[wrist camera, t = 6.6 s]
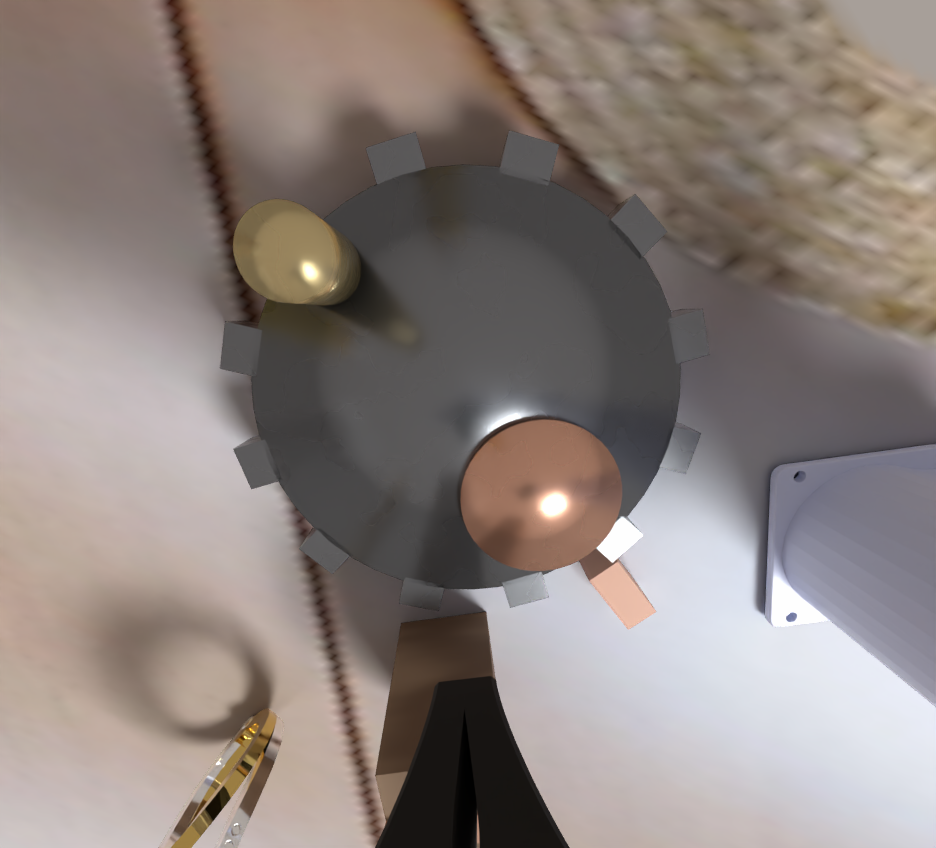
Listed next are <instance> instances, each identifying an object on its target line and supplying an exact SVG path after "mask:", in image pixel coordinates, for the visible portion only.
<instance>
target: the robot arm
mask: <svg viewBox="0 0 936 848" xmlns="http://www.w3.org/2000/svg"><path fill="white" fill-rule="evenodd" d="M798 471H799V474H798V476H797V477H796V478H794V475H795V474H796V473H797V472H798ZM789 613H790V614H789ZM788 614H789V615H788ZM787 615H788V616H787ZM765 618H766V620H767V621H768V622H769V623H770V624H771V625H772V626H774V627H785V626H792V625H799V624H807V623H814V622H822V621H829V620H830V621H831V622H832V623H833V624H835V625H836V626H837V627H838V628H840V629H841V630H842V631H843V632H844V633H846V634H847V635H848V636H849V637H851V638H852V639H853V640H854V641H855V642H857V643H858V644H859V645H860V646H862V647H863V648H864V649H865V650H867V651H868V652H869V653H870V654H871V655H873V656H874V657H875V658H876V659H878V660H879V661H880V662H881V663H882V664H884V665H885V666H886V667H887V668H889V669H890V670H891V671H892V672H894V673H895V674H896V675H897V676H898V677H900V678H901V679H902V680H903V681H905V682H906V683H907V684H908V685H909V686H911V687H912V688H913V689H914V690H916V691H917V692H918V693H919V694H921V695H922V696H923V697H924V698H925V699H927V700H928V701H929V702H930V703H932V704H933V705H934V706H935V707H936V444H930V445H923V446H916V447H908V448H901V449H893V450H886V451H879V452H871V453H864V454H857V455H849V456H842V457H834V458H827V459H820V460H812V461H805V462H798V463H790V464H783V465H780V466H778V467H776V468H775V469H774V470H773V472H772V474H771V483H770V507H769V531H768V555H767V579H766V603H765ZM477 811H478V823H479V841H480V848H569V846H568V844H567V843H566V841H565V839H564V837H563V836H562V834H561V832H560V830H559V829H558V827H557V825H556V823H555V821H554V819H553V818H552V816H551V814H550V812H549V810H548V808H547V806H546V804H545V802H544V800H543V798H542V797H541V795H540V793H539V791H538V789H537V787H536V785H535V783H534V781H533V779H532V777H531V774H530V772H529V770H528V768H527V766H526V764H525V761H524V759H523V757H522V755H521V752H520V750H519V748H518V746H517V744H516V741H515V739H514V736H513V734H512V731H511V729H510V726H509V723H508V721H507V718H506V715H505V713H504V710H503V707H502V703H501V700H500V697H499V693H498V689H497V683H496V679H494V678H493V677H492V676H485V677H477V678H468V679H459V680H451V681H442V682H438V683H437V684H436V686H435V687H434V692H433V696H432V700H431V704H430V708H429V712H428V715H427V718H426V722H425V725H424V728H423V731H422V734H421V737H420V740H419V743H418V746H417V748H416V751H415V754H414V757H413V759H412V762H411V765H410V767H409V770H408V773H407V776H406V778H405V781H404V783H403V786H402V788H401V790H400V793H399V795H398V797H397V800H396V802H395V804H394V807H393V809H392V811H391V814H390V816H389V818H388V821H387V823H386V825H385V828H384V830H383V832H382V834H381V836H380V838H379V841H378V843H377V845H376V847H375V848H477Z"/></svg>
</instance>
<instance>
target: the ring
mask: <svg viewBox="0 0 936 848" xmlns="http://www.w3.org/2000/svg"><path fill="white" fill-rule="evenodd" d="M283 733H284V722H283V720H282V719H281V718H280V717H278V716H277V715H276V713H274V712H273V711H271V710H270V709H268V708H266V709H264V710H262V711H261V712H259V713H258V714H257V715H255V716H254V717H253V716H250V717H249V718H248V719H247V720H246V721H245V722H244V724H243V725H242V727H241V729H240V730H239V732H238V733H237V734H236V735H235V736H234V737H233V738H232V740H231V741H230V742H229V743H228V744H227V746H226V747H225V748H224V749H223V751H222V752H221V753H220V755H219V756H218V757H217V759H216V760H215V761H214V763H213V764H212V765H211V767H210V768H209V769H208V771H207V772H206V774H205V775H204V776H203V778H202V779H201V781H200V782H199V784H198V785H197V787H196V788H195V790H194V791H193V793H192V794H191V796H190V797H189V799H188V800H187V802H186V803H185V805H184V806H183V808H182V809H181V811H180V813H179V814H178V816H177V817H176V819H175V821H174V822H173V824H172V825H171V827H170V829H169V830H168V832H167V834H166V835H165V837H164V839H163V841H162V842H161V844H160V846H159V847H158V848H191V847H192V846H193V845H194V844H195V843H196V841H197V840H198V839H199V838H200V837H201V835H202V834H203V833H204V832H205V830H206V829H207V828H208V827H209V825H210V824H211V823H212V822H213V820H214V819H215V818H216V817H217V815H218V814H219V813H220V812H221V810H222V809H223V808H224V806H225V805H226V804H227V802H228V801H229V800H230V798H231V797H232V796H233V794H234V793H235V792H236V790H237V789H238V788H239V786H240V785H241V783H242V782H243V781H244V779H245V778H246V776H247V775H248V773H249V772H250V770H251V769H252V770H251V772H250V774H249V776H248V778H247V780H246V782H245V784H244V786H243V788H242V790H241V792H240V794H239V796H238V798H237V800H236V803H235V805H234V807H233V809H232V811H231V813H230V815H229V817H228V819H227V821H226V824H225V826H224V828H223V830H222V832H221V834H220V837H219V839H218V841H217V843H216V846H215V848H237V847H238V845H239V842H240V840H241V838H242V835H243V833H244V831H245V829H246V826H247V824H248V822H249V820H250V817H251V815H252V813H253V811H254V808H255V806H256V804H257V802H258V799H259V797H260V795H261V793H262V790H263V788H264V786H265V784H266V781H267V779H268V777H269V774H270V772H271V770H272V767H273V765H274V762H275V760H276V757H277V754H278V751H279V748H280V745H281V742H282V738H283ZM238 760H239V761H238ZM235 764H236V765H235ZM252 767H253V768H252ZM232 768H233V769H232Z"/></svg>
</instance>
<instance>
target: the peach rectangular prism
mask: <svg viewBox="0 0 936 848" xmlns="http://www.w3.org/2000/svg"><path fill="white" fill-rule="evenodd" d="M579 562H580V564H581V566H582V568H583V570H584V572H585V573H586V575H587V577H588V579H589V581H590V582H591V584H592V585H593V586H594V587H595V589H596V590H597V591H598V592H599V594H600V595H601V596H602V597H603V599H604V600H605V601H606V602H607V604H608V605H609V606H610V607H611V609H612V610H613V611H614V613H615V614H616V615H617V616H618V618H619V619H620V620H621V621H622V623H623V624H624V625H625V626H626V628H627V629H628V630H629V629H630V628H632V627H633V626H635V625H636V624H638V623H640V622H641V621H643V620H644V619H646V618H647V617H649V616H650V615H652V614H654V613H655V612H656V611H655V609H654V608H653V606H652V605H651V603H650V602H649V600H648V599H647V597H646V596H645V594H644V593H643V591H642V590H641V589H640V587H639V586H638V584H637V583H636V581H635V580H634V579H633V578H632V576H631V575H630V574H629V572H628V571H627V570H626V568H625V567H624V566H623V564H622V563H621V562H620V561H619V559H618V558H617V559H616V560H615V561H614V562H613V563H612V562H611V561H610V560H609V559H608V558H607V557H605V556H604V555H603V554H602V553H601V552H600V551H599V550H598V549H597V548H596V549H595V550H593V551H592V552H591V553H590V554H588V555H587V556H585V557H584V558H582V559H581V560H579Z"/></svg>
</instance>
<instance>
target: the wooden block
mask: <svg viewBox="0 0 936 848" xmlns="http://www.w3.org/2000/svg"><path fill="white" fill-rule="evenodd" d="M485 676H492V677H493V678H494V679H495V672H494V665H493V658H492V651H491V644H490V636H489V629H488V622H487V615H486V612H480V613H473V614H465V615H458V616H450V617H443V618H435V619H428V620H421V621H413V622H406V623H401V627H400V633H399V639H398V645H397V651H396V657H395V663H394V668H393V674H392V680H391V686H390V692H389V698H388V704H387V710H386V716H385V722H384V728H383V733H382V739H381V745H380V751H379V757H378V763H377V769H376V775H375V776H376V781H377V785H378V789H379V793H380V798H381V802H382V806H383V810H384V814H385V819H386V823H387V821H388V818H389V816H390V814H391V811H392V809H393V807H394V804H395V802H396V800H397V797H398V795H399V793H400V790H401V788H402V786H403V783H404V781H405V778H406V776H407V773H408V770H409V767H410V765H411V762H412V759H413V757H414V754H415V751H416V748H417V746H418V743H419V740H420V737H421V734H422V731H423V728H424V725H425V722H426V718H427V715H428V712H429V708H430V704H431V700H432V696H433V692H434V687H435V686H436V684H437V683H438V682H442V681H451V680H459V679H468V678H477V677H485ZM385 825H386V824H385ZM477 848H480V841H479V823H478V811H477Z"/></svg>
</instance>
